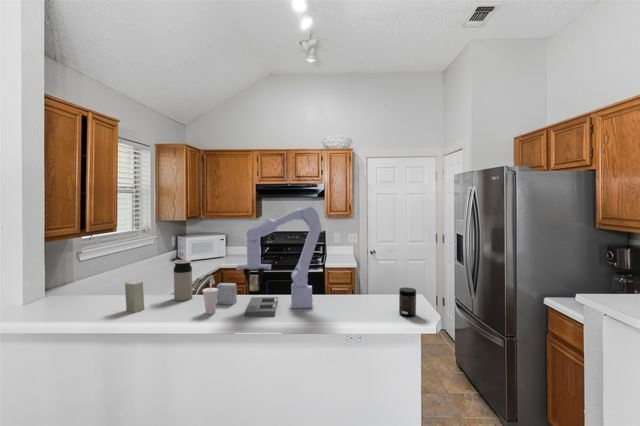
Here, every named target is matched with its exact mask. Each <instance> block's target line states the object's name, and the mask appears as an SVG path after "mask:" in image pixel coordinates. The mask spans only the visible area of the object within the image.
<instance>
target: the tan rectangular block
mask: <svg viewBox="0 0 640 426" xmlns="http://www.w3.org/2000/svg"><path fill="white" fill-rule="evenodd" d="M259 290H260V287H258V274H250V287H249V292H258V291H259Z"/></svg>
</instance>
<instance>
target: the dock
mask: <svg viewBox="0 0 640 426" xmlns="http://www.w3.org/2000/svg"><path fill="white" fill-rule="evenodd" d="M278 301H279V297H278V296H266V297H265V296H263V297H261V296H260V297H257V296H256V297H254V296H253V297H251V298H250V300H249V302H248V304H247V306H246V309H245V310H244V317H275V316H276V311H277V306H278V303H279V302H278Z"/></svg>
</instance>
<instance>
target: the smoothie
mask: <svg viewBox="0 0 640 426" xmlns="http://www.w3.org/2000/svg"><path fill="white" fill-rule="evenodd" d="M209 280H210V282H209V283H210V287H207V288H203V289H202V295H203V300H204V308H205V309H204V310H205V314H207V315H212V314H215V313H216V310H217V292H218V288H217V287H213V286H212V285H213V283H212V282H213V279H212V278H210V279H209Z"/></svg>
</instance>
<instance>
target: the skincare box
mask: <svg viewBox="0 0 640 426" xmlns="http://www.w3.org/2000/svg"><path fill="white" fill-rule="evenodd" d="M124 293H125V308H126V309H125V310H126V312H132V313H138V312H141V311H143V310H145V298H144V296H145V295H144V281H138V280H131V281H128V282H125V283H124Z"/></svg>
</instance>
